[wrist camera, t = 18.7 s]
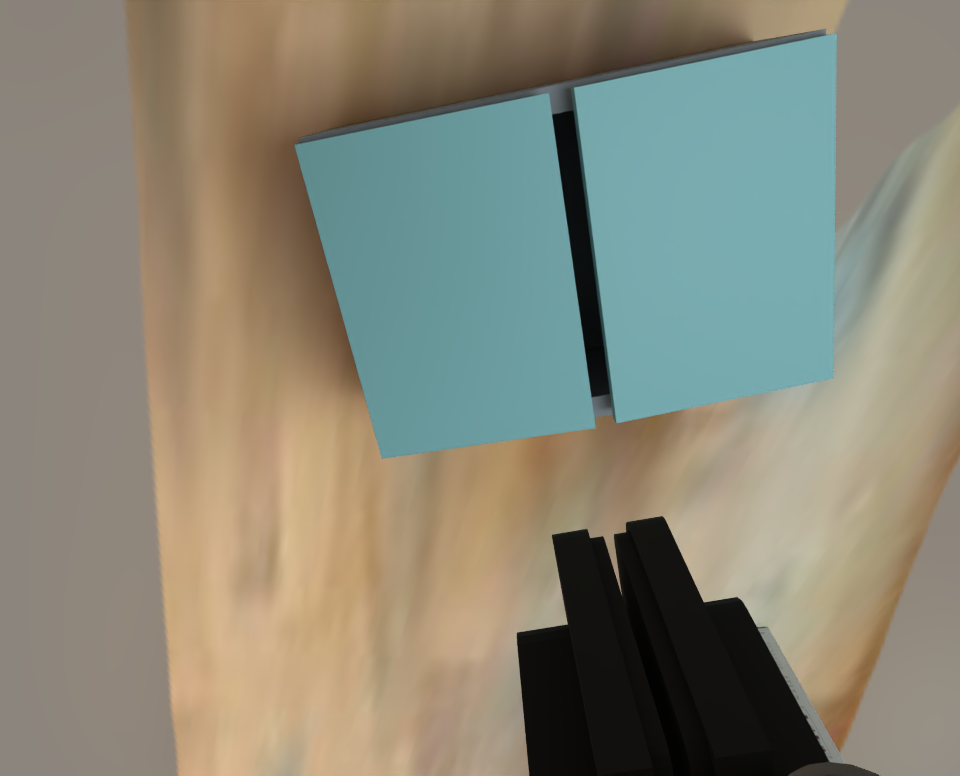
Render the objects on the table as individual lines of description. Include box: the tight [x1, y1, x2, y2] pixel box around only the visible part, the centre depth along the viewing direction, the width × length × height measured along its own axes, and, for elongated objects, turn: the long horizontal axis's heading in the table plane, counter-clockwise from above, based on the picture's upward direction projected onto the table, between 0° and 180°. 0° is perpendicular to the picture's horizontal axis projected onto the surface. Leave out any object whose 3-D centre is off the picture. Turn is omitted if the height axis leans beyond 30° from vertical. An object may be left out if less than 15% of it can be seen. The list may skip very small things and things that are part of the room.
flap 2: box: [571, 33, 837, 423], centre depth 28 cm, size 14×10×1 cm
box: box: [298, 29, 826, 417], centre depth 32 cm, size 14×20×7 cm
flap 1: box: [294, 93, 596, 459], centre depth 28 cm, size 14×10×1 cm
